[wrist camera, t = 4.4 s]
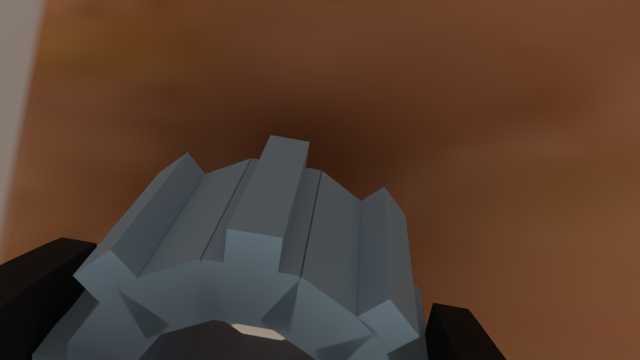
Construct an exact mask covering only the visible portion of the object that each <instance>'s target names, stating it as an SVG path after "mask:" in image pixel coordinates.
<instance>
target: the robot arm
mask: <svg viewBox="0 0 640 360" xmlns="http://www.w3.org/2000/svg"><path fill="white" fill-rule="evenodd" d="M96 247H97V243H91V242H85V241H80V240H74V239H68V238H63V237H62V238H59V239H57V240H54V241H52V242H49V243H47V244H45V245H42V246H40V247H38V248H36V249H34V250H31V251H29V252H27V253H25V254H23V255H21V256H19V257H16V258H14V259H12V260H10V261H8V262H6V263H4V264H2V265H0V360H32V354H33V353H34V352H35V350H36V349H37V348H38V347H39V345H40V344H41V343H42V341H43V340H44V339H45V338H46V336H47V335H48V334H49V332H50V331H51V330H52V329H53V327H54V326H55V325H56V324H57V323H58V322H59V320H60V319H61V318H62V317H63V316H64V315H65V314H66V313H67V312H68V311H69V310H70V309H71V307H72V306H73V305H74V303H75V302H76V301H77V300H78V298H79V297H80V296H81V294H82V293H83V292H84V291H85V289H86V288H85V287H84V286H83V285H82V284H81V283H80V282H79V281H78V280H77V279H76V278H75V277H74V276H73V275H74V274H75V272H76V271H77V270H78V269H79V268H80V266H81V265H82V264H83V263H84V262H85V260H86V259H87V258H88V257H89V256H90V254H91V253H92V252H93V251H94V250H95V249H96ZM425 340H426V347H427V355H428V360H506V359H505V357H504V356H503V355H502V353H501V352H500V351H499V349H498V348H497V347H496V345H495V344H494V343H493V341H492V340H491V339H490V337H489V336H488V335H487V333H486V332H485V330H484V329H483V328H482V326H481V325H480V324H479V322H478V321H477V320H476V318H475V317H474V316H473V314H472V313H471V312H470V311H469V309H465V308H459V307H454V306H448V305H442V304H437V303H433V305H432V309H431V313H430V316H429V320H428V323H427V327H426V330H425Z"/></svg>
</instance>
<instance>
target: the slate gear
mask: <svg viewBox="0 0 640 360" xmlns="http://www.w3.org/2000/svg"><path fill="white" fill-rule="evenodd" d="M309 143H310V142H308V141H302V140H296V139H290V138H285V137H279V136H273V135H270V138H269V140H268V142H267V144H266V146H265V148H264V150H263V153H262V155H261V157H260V159H253V158H252V159H251V158H250V159H247V160H244V161H242V162H239V163H236V164H233V165H230V166H227V167H224V168H221V169H218V170H215V171H212V172H209V173H206V174H205V172H204V171H203V170H202V169H201V168H200V166H199V165H198V164H197V163H196V162H195V161H194V159H193V158H192V157H191V156H190V155H189V153H188V152H187V153H186V154H185V155H183V156H182V157H180V158H179V159H178V160H176V161H175V162H173V163H172V164H171V165H169V166H168V167H166V168H165V169H164V170H162V171H161V172H159V174H158V175H157V176H156V177H155V178H154V180H153V181H152V182H151V183H150V184H149V185H148V187H147V188H146V189H145V190H144V191H143V193H142V194H141V195H140V196H139V197H138V199H137V200H136V201H135V202H134V203H133V205H132V206H131V207H130V208H129V209H128V210H127V212H126V213H125V214H124V215H123V216H122V218H121V219H120V220H119V221H118V222H117V224H116V225H115V226H114V227H113V228H112V229H111V231H110V232H109V233H108V234H107V235H106V237H105V238H104V239H103V240H102V241H101V243H100V244H99V245H98V246H97V247H96V249H95V250H94V251H93V252H92V253H91V254H90V256H89V257H88V258H87V259H86V260H85V262H84V263H83V264H82V265H81V266H80V268H79V269H78V270H77V271H76V272H75V274H74V275H73V276H74V277H75V278H76V279H77V280H78V281H79V282H80V283H81V284H82V285H83V286H84V287H85V288H86V289H85V291H84V292H83V293H82V294H81V296H80V297H79V298H78V300H77V301H76V302H75V303H74V305H73V306H72V307H71V309H70V310H69V311H68V312H67V313H66V314H65V315H64V316H63V317H62V318H61V319H60V320H59V322H58V323H57V324H56V325H55V326H54V327H53V329H52V330H51V331H50V332H49V334H48V335H47V336H46V338H45V339H44V340H43V341H42V343H41V344H40V345H39V347H38V348H37V349H36V350H35V352H34V353H33V354H32V360H428V355H427V347H426V340H425V330H426V325H425V318H424V310H423V303H422V296H421V288H420V287H418V286H414V284H413V275H412V267H411V258H410V250H409V241H408V232H407V224H406V215H405V214H404V213H403V211H402V210H401V209H400V207H399V206H398V205H397V203H396V202H395V201H394V199H393V198H392V196H391V195H390V194H389V192H388V191H387V190H386V188H385V187H383V188H381V189H380V190H378V191H376V192H375V193H373V194H371V195H370V196H368V197H367V198H365V199H363V200H362V201H360V200H359V199H358V198H357V197H355V196H354V195H353V194H351V193H350V192H349V191H348V190H346V189H345V188H344V187H342V186H341V185H340V184H339V183H337V182H336V181H335V180H333V179H332V178H331V177H330V176H328V175H327V174H326V173H324V172H323V171H322V172H321V170H316V169H311V168H306V162H307V156H308V150H309ZM227 322H230V323H236V324H242V325H247V326H253V327H258V328H264V329H270V330H274V331H275V332H277V333H278V334H280V335H281V336H282V337H284V338H285V339H284V340H277V339H271V338H266V337H260V336H254V335H249V334H243V333H241V332H240V331H238V330H237V329H235V328H234V327H233V326H231V325H230V324H228V323H227Z"/></svg>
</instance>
